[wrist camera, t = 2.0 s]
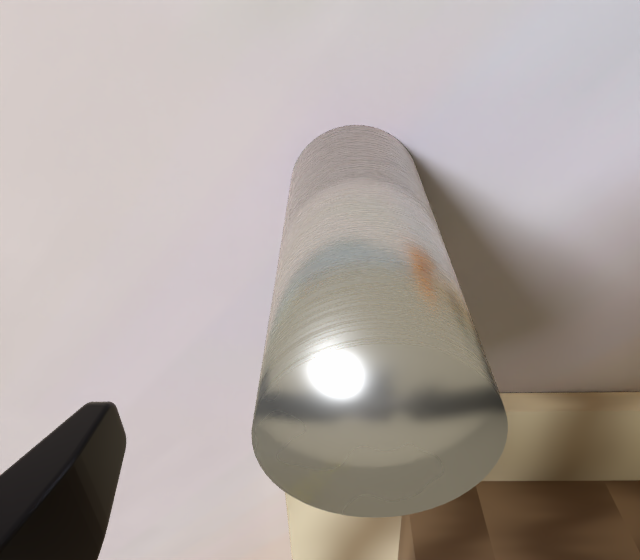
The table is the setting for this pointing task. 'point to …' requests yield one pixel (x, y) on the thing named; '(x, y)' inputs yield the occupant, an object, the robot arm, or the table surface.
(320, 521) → the socket holder
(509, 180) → the table surface
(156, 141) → the table surface
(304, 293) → the peg
